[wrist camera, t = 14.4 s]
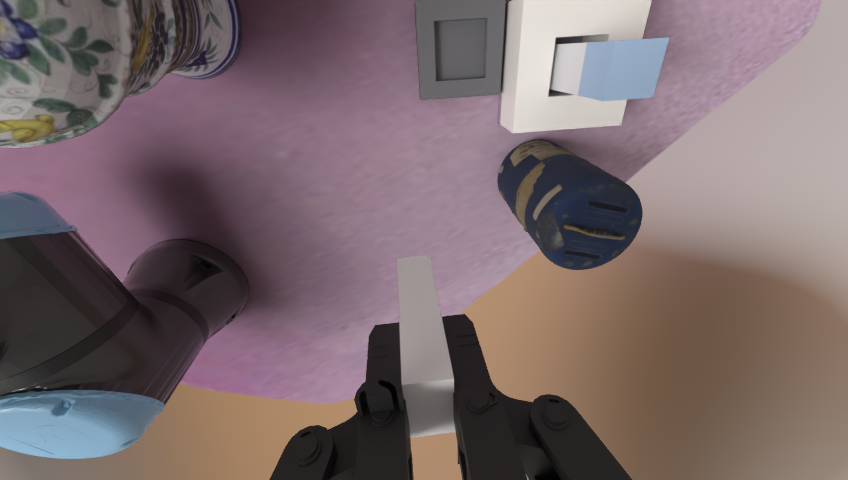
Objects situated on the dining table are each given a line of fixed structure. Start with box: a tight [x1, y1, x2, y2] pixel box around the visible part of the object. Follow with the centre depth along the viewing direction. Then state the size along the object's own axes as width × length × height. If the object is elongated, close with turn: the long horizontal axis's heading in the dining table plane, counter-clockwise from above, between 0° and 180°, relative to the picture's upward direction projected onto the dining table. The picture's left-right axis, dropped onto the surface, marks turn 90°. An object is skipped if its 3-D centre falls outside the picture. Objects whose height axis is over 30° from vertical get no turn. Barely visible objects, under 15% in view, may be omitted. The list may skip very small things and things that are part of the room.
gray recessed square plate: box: [415, 0, 506, 100], centre depth 35 cm, size 9×9×2 cm
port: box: [498, 0, 652, 133], centre depth 34 cm, size 12×12×6 cm
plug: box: [549, 37, 670, 101], centre depth 30 cm, size 4×4×14 cm
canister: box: [498, 140, 642, 270], centre depth 36 cm, size 10×10×18 cm
